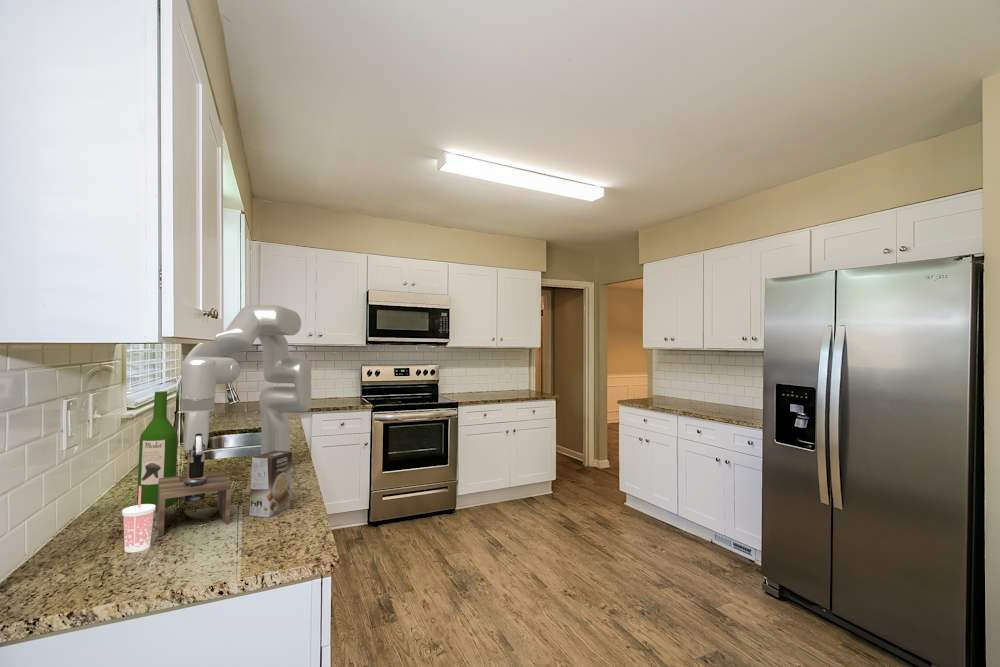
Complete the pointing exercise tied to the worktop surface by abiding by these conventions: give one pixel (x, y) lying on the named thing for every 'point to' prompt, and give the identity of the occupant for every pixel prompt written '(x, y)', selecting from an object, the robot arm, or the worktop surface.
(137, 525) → the beverage cup
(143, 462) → the wine bottle
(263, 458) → the coffee box
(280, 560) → the worktop surface
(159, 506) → the keyhole plate
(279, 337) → the robot arm
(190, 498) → the keyhole pin
